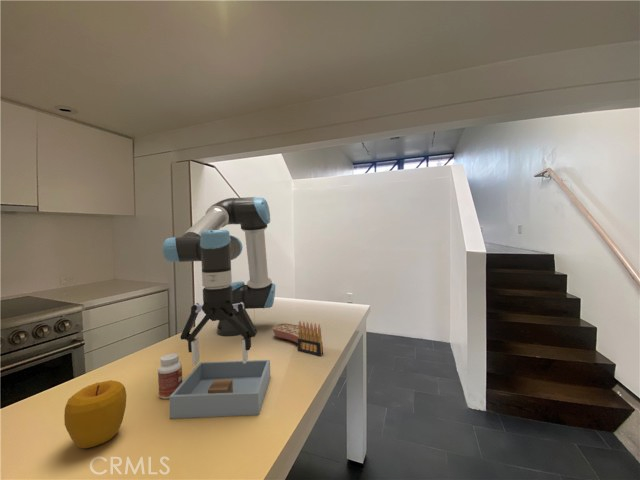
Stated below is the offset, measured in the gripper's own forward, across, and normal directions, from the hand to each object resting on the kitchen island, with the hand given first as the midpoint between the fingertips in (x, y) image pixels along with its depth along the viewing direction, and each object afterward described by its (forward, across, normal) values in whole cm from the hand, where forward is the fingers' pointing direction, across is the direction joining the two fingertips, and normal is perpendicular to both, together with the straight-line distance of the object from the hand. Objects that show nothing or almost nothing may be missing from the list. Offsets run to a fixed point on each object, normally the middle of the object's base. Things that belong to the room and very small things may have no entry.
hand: (220, 362), depth 75 cm
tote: (+11, 0, +3) cm, 12 cm away
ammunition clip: (+12, +24, +29) cm, 40 cm away
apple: (+11, -24, -13) cm, 29 cm away
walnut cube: (+11, 0, -1) cm, 11 cm away
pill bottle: (+12, -17, +5) cm, 21 cm away
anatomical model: (+13, +17, +42) cm, 47 cm away
